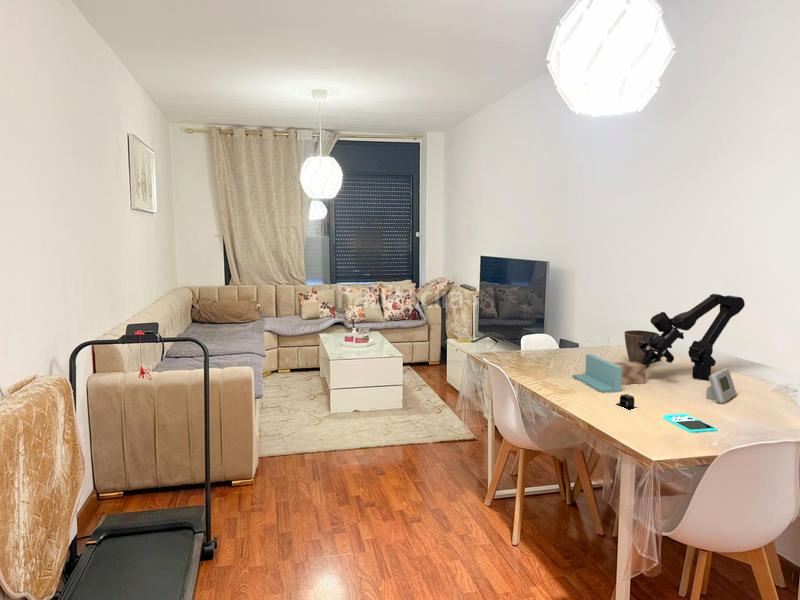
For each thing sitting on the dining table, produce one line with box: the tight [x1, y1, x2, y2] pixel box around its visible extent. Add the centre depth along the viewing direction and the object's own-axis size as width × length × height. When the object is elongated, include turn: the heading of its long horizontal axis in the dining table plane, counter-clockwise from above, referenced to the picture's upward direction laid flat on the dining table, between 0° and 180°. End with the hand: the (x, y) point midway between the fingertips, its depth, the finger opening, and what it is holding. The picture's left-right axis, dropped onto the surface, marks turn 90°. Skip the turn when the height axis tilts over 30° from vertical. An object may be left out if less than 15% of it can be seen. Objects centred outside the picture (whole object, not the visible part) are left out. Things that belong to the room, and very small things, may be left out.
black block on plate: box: [615, 393, 638, 411], centre depth 208 cm, size 12×7×5 cm, turn 22°
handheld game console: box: [662, 412, 718, 434], centre depth 190 cm, size 10×16×1 cm, turn 10°
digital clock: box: [705, 367, 737, 404], centre depth 216 cm, size 16×9×11 cm, turn 122°
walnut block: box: [612, 361, 647, 386], centre depth 239 cm, size 16×7×8 cm, turn 100°
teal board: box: [571, 353, 622, 394], centre depth 237 cm, size 8×24×10 cm, turn 10°
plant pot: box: [624, 329, 660, 369], centre depth 266 cm, size 15×15×16 cm
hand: (641, 366), depth 240 cm, fingers closed, pressing on walnut block
